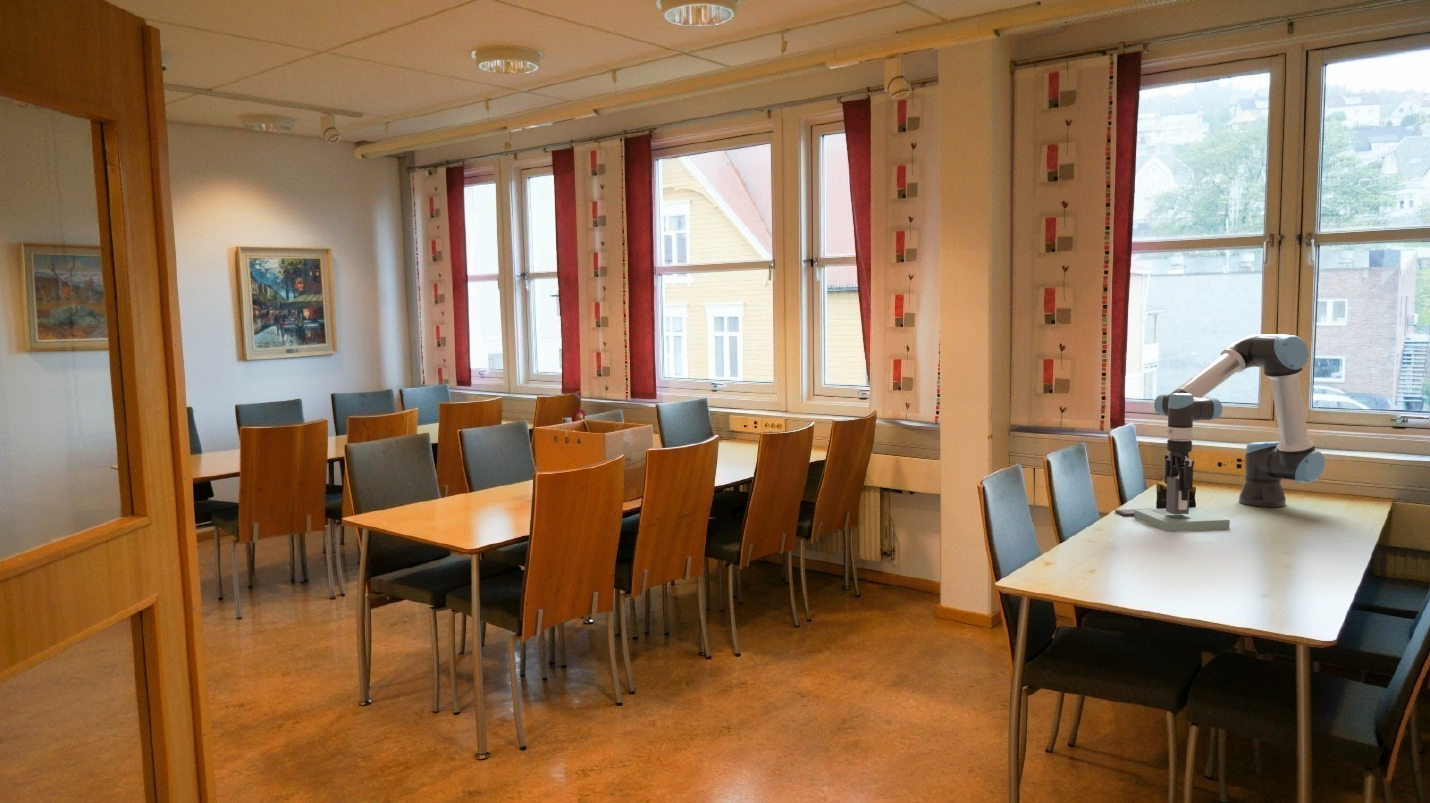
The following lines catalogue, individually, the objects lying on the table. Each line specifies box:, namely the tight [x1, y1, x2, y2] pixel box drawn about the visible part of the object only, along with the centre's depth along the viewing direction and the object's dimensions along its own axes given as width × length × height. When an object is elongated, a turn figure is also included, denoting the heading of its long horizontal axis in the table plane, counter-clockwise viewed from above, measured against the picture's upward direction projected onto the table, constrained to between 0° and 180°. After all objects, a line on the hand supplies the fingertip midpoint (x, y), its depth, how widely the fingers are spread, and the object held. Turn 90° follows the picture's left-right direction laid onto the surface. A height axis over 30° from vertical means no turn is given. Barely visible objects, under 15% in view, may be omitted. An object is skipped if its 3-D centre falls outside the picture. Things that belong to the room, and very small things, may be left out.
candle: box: [1155, 481, 1197, 509], centre depth 343 cm, size 10×10×10 cm
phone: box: [1114, 508, 1145, 518], centre depth 340 cm, size 14×7×1 cm, turn 95°
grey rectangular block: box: [1166, 475, 1189, 515], centre depth 321 cm, size 5×5×12 cm
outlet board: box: [1134, 507, 1231, 532], centre depth 325 cm, size 22×20×3 cm
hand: (1177, 507), depth 321 cm, fingers closed on grey rectangular block, 5 cm apart
